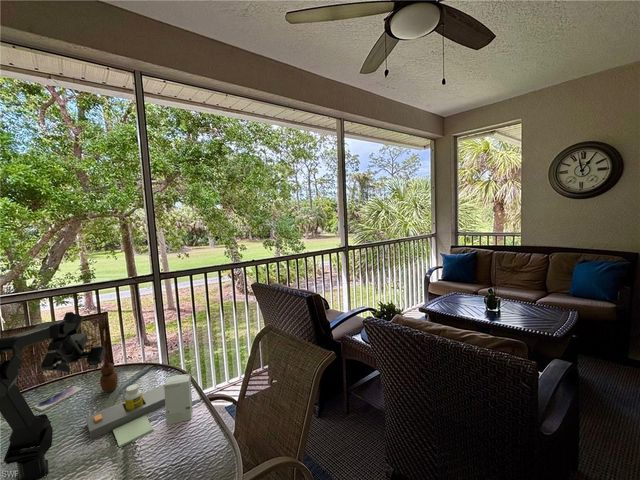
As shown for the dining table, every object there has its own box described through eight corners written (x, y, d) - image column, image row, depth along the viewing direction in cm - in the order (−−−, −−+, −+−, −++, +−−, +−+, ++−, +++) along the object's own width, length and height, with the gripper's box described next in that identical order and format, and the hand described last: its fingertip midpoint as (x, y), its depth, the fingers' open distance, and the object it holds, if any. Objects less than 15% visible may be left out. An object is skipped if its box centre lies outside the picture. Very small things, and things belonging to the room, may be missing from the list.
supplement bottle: (135, 417, 111) (132, 392, 109) (123, 415, 112) (119, 391, 110) (146, 407, 116) (143, 383, 115) (134, 406, 117) (131, 382, 116)
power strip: (170, 389, 127) (169, 380, 126) (178, 399, 120) (177, 390, 119) (86, 424, 108) (85, 414, 107) (91, 439, 101) (89, 429, 100)
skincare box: (166, 425, 106) (162, 386, 104) (169, 414, 111) (165, 376, 110) (192, 419, 108) (188, 381, 106) (194, 409, 114) (190, 372, 112)
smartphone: (31, 406, 118) (75, 385, 132) (31, 408, 119) (75, 386, 132) (41, 410, 116) (84, 388, 129) (41, 412, 116) (85, 390, 129)
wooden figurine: (103, 387, 130) (99, 354, 128) (119, 383, 133) (115, 351, 131) (100, 396, 124) (95, 361, 122) (116, 392, 126) (112, 358, 125)
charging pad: (153, 430, 104) (153, 429, 103) (119, 447, 97) (118, 445, 97) (145, 416, 111) (145, 414, 111) (113, 431, 104) (112, 429, 104)
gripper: (103, 324, 115) (116, 347, 125) (46, 330, 111) (64, 354, 121) (92, 350, 107) (107, 373, 116) (30, 358, 103) (51, 381, 112)
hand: (83, 369), depth 117 cm, fingers open, 9 cm apart
